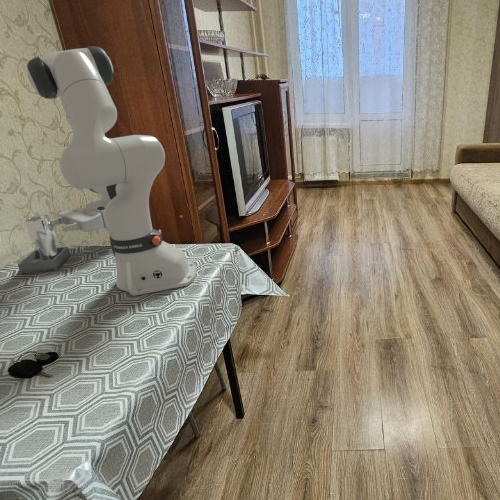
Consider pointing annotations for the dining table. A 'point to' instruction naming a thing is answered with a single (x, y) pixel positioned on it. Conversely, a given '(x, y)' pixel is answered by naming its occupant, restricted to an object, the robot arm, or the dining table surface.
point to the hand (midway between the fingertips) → (56, 226)
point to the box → (43, 262)
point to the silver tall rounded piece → (43, 236)
